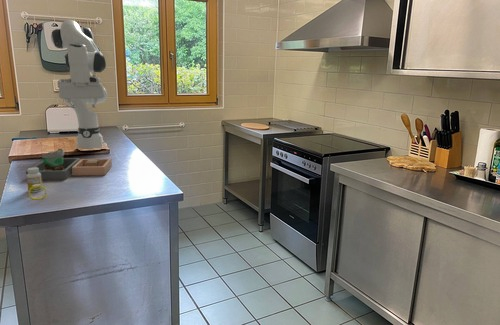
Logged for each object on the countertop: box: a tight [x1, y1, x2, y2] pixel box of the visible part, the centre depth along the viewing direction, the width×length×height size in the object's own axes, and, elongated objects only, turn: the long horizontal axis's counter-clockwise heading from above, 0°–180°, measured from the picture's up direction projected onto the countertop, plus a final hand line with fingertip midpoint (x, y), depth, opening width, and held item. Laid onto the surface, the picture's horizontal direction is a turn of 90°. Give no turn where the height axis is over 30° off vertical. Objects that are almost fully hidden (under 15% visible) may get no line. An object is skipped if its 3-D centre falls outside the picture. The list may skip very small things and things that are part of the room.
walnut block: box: [86, 160, 99, 167], centre depth 185 cm, size 5×5×5 cm
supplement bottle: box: [25, 166, 44, 193], centre depth 155 cm, size 5×5×10 cm
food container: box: [41, 148, 65, 171], centre depth 183 cm, size 12×6×10 cm, turn 168°
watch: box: [28, 184, 47, 201], centre depth 146 cm, size 6×3×6 cm, turn 119°
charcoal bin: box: [25, 157, 82, 181], centre depth 181 cm, size 24×17×4 cm
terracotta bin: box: [72, 158, 113, 176], centre depth 185 cm, size 16×15×4 cm
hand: (83, 107), depth 179 cm, fingers open, 8 cm apart
